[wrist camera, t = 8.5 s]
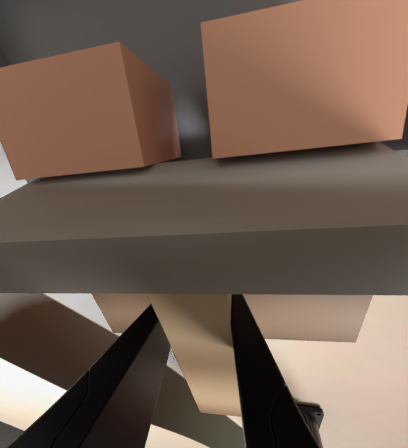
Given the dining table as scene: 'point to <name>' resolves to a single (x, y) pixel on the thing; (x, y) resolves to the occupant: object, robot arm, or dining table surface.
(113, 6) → the box
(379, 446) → the dining table surface
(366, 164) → the scraper
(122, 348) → the robot arm
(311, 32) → the tan square block
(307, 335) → the board
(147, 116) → the tile
